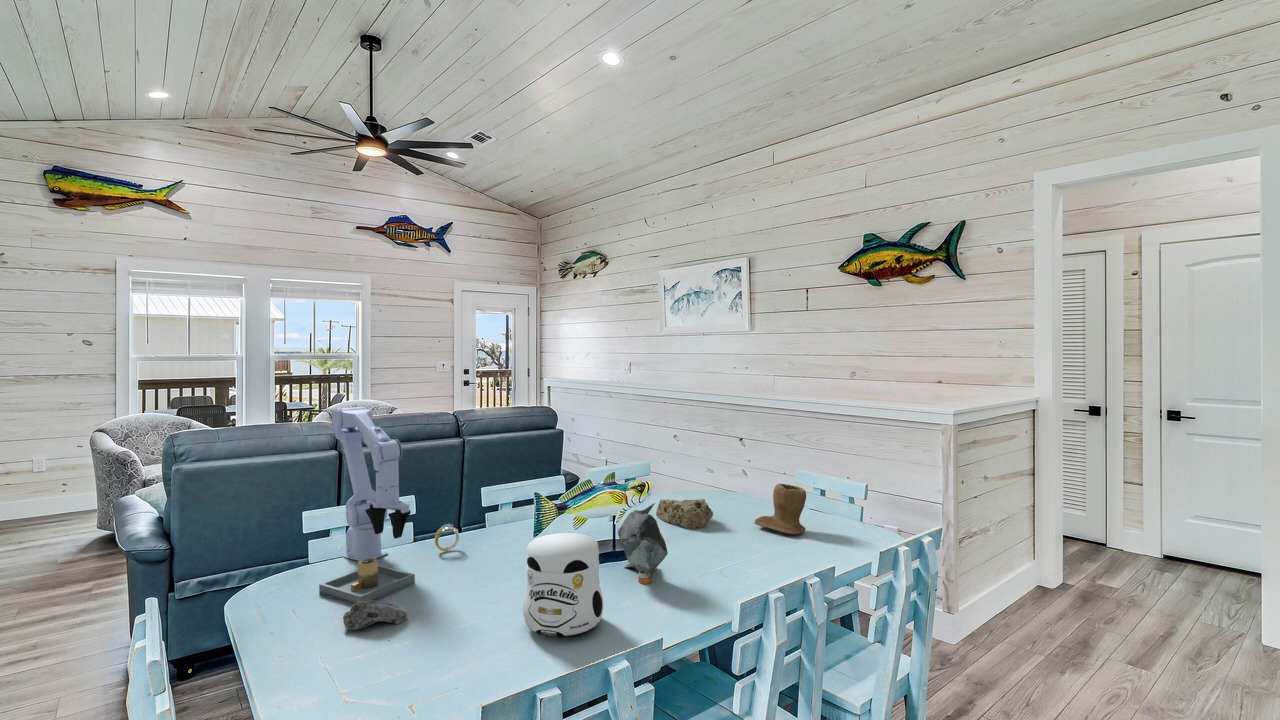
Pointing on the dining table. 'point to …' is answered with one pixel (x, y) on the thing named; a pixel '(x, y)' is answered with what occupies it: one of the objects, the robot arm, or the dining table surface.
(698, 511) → the rock
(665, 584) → the dining table surface
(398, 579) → the tray
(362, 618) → the grey rough irregular lump
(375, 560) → the brass short cylinder
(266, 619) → the dining table surface
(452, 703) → the dining table surface
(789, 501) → the brown flared cylinder
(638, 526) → the grey faceted chunk
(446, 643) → the dining table surface
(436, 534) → the ring
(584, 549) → the doce de leite jar
